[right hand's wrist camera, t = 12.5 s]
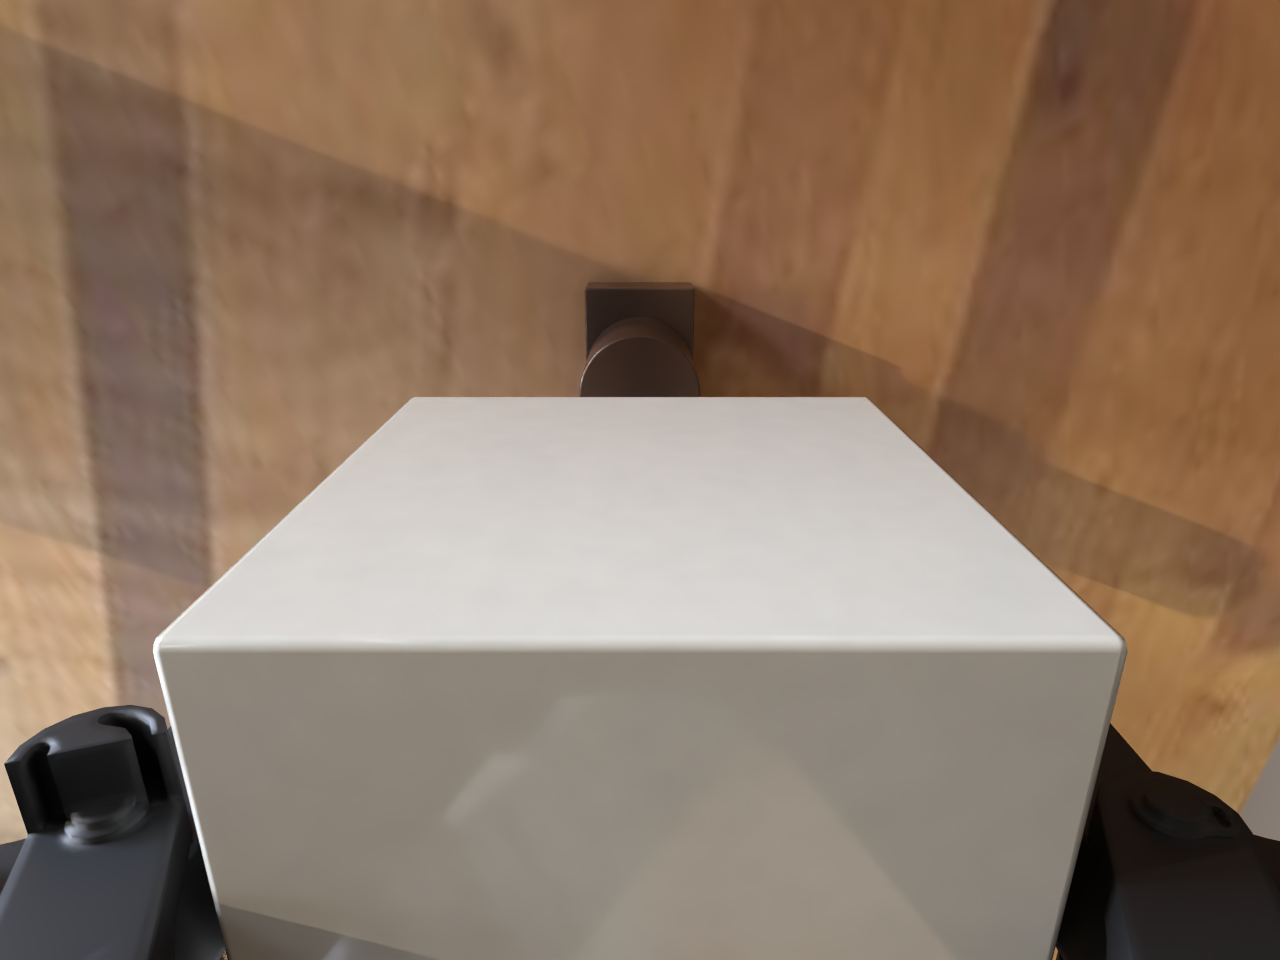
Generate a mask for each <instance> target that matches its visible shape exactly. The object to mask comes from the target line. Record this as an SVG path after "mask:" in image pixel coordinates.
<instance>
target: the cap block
mask: <svg viewBox="0 0 1280 960" xmlns="http://www.w3.org/2000/svg"><path fill="white" fill-rule="evenodd" d="M153 653H154V658H155V662H156V666H157V670H158V674H159V678H160V682H161V686H162V690H163V695H164V699H165V703H166V707H167V711H168V715H169V719H170V723H171V727H172V732H173V736H174V740H175V744H176V748H177V752H178V756H179V760H180V764H181V769H182V773H183V777H184V781H185V785H186V789H187V793H188V797H189V801H190V806H191V810H192V814H193V818H194V822H195V826H196V830H197V834H198V838H199V843H200V847H201V851H202V855H203V859H204V863H205V867H206V871H207V875H208V880H209V884H210V888H211V892H212V896H213V900H214V904H215V908H216V912H217V917H218V921H219V925H220V929H221V933H222V937H223V941H224V945H225V949H226V954H227V958H228V960H1052V958H1053V954H1054V950H1055V946H1056V942H1057V938H1058V934H1059V930H1060V926H1061V922H1062V918H1063V913H1064V909H1065V905H1066V901H1067V897H1068V893H1069V889H1070V885H1071V881H1072V877H1073V872H1074V868H1075V864H1076V860H1077V856H1078V852H1079V848H1080V844H1081V840H1082V836H1083V831H1084V827H1085V823H1086V819H1087V815H1088V811H1089V807H1090V803H1091V799H1092V795H1093V791H1094V786H1095V782H1096V778H1097V774H1098V770H1099V766H1100V762H1101V758H1102V754H1103V750H1104V745H1105V741H1106V737H1107V733H1108V729H1109V725H1110V721H1111V717H1112V713H1113V709H1114V705H1115V700H1116V696H1117V692H1118V688H1119V684H1120V680H1121V676H1122V672H1123V668H1124V664H1125V659H1126V655H1127V645H1126V642H1125V639H1124V637H1123V636H1121V635H1120V634H1119V633H1118V632H1117V631H1116V630H1115V629H1114V628H1113V627H1112V626H1111V625H1110V624H1109V623H1108V622H1107V621H1105V620H1104V619H1103V618H1102V617H1101V616H1100V615H1099V614H1098V613H1097V612H1096V611H1095V610H1094V609H1093V608H1092V607H1091V606H1090V605H1088V604H1087V603H1086V602H1085V601H1084V600H1083V599H1082V598H1081V597H1080V596H1079V595H1078V594H1077V593H1076V592H1075V591H1074V590H1072V589H1071V588H1070V587H1069V586H1068V585H1067V584H1066V583H1065V582H1064V581H1063V580H1062V579H1061V578H1060V577H1059V576H1058V575H1056V574H1055V573H1054V572H1053V571H1052V570H1051V569H1050V568H1049V567H1048V566H1047V565H1046V564H1045V563H1044V562H1043V561H1042V560H1040V559H1039V558H1038V557H1037V556H1036V555H1035V554H1034V553H1033V552H1032V551H1031V550H1030V549H1029V548H1028V547H1027V546H1026V545H1024V544H1023V543H1022V542H1021V541H1020V540H1019V539H1018V538H1017V537H1016V536H1015V535H1014V534H1013V533H1012V532H1011V531H1010V530H1008V529H1007V528H1006V527H1005V526H1004V525H1003V524H1002V523H1001V522H1000V521H999V520H998V519H997V518H996V517H995V516H994V515H992V514H991V513H990V512H989V511H988V510H987V509H986V508H985V507H984V506H983V505H982V504H981V503H980V502H979V501H978V500H976V499H975V498H974V497H973V496H972V495H971V494H970V493H969V492H968V491H967V490H966V489H965V488H964V487H963V486H962V485H960V484H959V483H958V482H957V481H956V480H955V479H954V478H953V477H952V476H951V475H950V474H949V473H948V472H947V471H946V470H944V469H943V468H942V467H941V466H940V465H939V464H938V463H937V462H936V461H935V460H934V459H933V458H932V457H931V456H930V455H928V454H927V453H926V452H925V451H924V450H923V449H922V448H921V447H920V446H919V445H918V444H917V443H916V442H915V441H914V440H912V439H911V438H910V437H909V436H908V435H907V434H906V433H905V432H904V431H903V430H902V429H901V428H900V427H899V426H898V425H896V424H895V423H894V422H893V421H892V420H891V419H890V418H889V417H888V416H887V415H886V414H885V413H884V412H883V411H882V410H880V409H879V408H878V407H877V406H876V405H875V404H874V403H873V402H872V401H871V400H870V399H868V398H866V397H414V398H412V399H410V400H409V401H408V402H407V403H406V404H405V405H404V406H403V407H402V408H400V409H399V410H398V411H397V412H396V413H395V414H394V415H393V416H392V417H391V418H390V419H389V420H388V421H387V422H386V423H385V424H383V425H382V426H381V427H380V428H379V429H378V430H377V431H376V432H375V433H374V434H373V435H372V436H371V437H370V438H369V439H367V440H366V441H365V442H364V443H363V444H362V445H361V446H360V447H359V448H358V449H357V450H356V451H355V452H354V453H353V454H352V455H350V456H349V457H348V458H347V459H346V460H345V461H344V462H343V463H342V464H341V465H340V466H339V467H338V468H337V469H336V470H335V471H333V472H332V473H331V474H330V475H329V476H328V477H327V478H326V479H325V480H324V481H323V482H322V483H321V484H320V485H319V486H317V487H316V488H315V489H314V490H313V491H312V492H311V493H310V494H309V495H308V496H307V497H306V498H305V499H304V500H303V501H302V502H300V503H299V504H298V505H297V506H296V507H295V508H294V509H293V510H292V511H291V512H290V513H289V514H288V515H287V516H286V517H284V518H283V519H282V520H281V521H280V522H279V523H278V524H277V525H276V526H275V527H274V528H273V529H272V530H271V531H270V532H269V533H267V534H266V535H265V536H264V537H263V538H262V539H261V540H260V541H259V542H258V543H257V544H256V545H255V546H254V547H253V548H252V549H250V550H249V551H248V552H247V553H246V554H245V555H244V556H243V557H242V558H241V559H240V560H239V561H238V562H237V563H236V564H234V565H233V566H232V567H231V568H230V569H229V570H228V571H227V572H226V573H225V574H224V575H223V576H222V577H221V578H220V579H219V580H217V581H216V582H215V583H214V584H213V585H212V586H211V587H210V588H209V589H208V590H207V591H206V592H205V593H204V594H203V595H202V596H200V597H199V598H198V599H197V600H196V601H195V602H194V603H193V604H192V605H191V606H190V607H189V608H188V609H187V610H186V611H184V612H183V613H182V614H181V615H180V616H179V617H178V618H177V619H176V620H175V621H174V622H173V623H172V624H171V625H170V626H169V627H167V628H166V629H165V630H164V631H163V632H162V633H161V634H160V635H159V636H158V637H157V638H156V640H155V643H154V648H153Z"/></svg>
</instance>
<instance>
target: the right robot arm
mask: <svg viewBox="0 0 1280 960" xmlns="http://www.w3.org/2000/svg"><path fill="white" fill-rule="evenodd" d="M4 765H5V768H6V771H7V774H8V777H9V780H10V783H11V785H12V788H13V791H14V794H15V797H16V800H17V803H18V806H19V809H20V812H21V815H22V818H23V821H24V824H25V827H26V830H27V833H28V835H27V837H26V839H22V840H19V841H15V842H11V843H6V844H2V845H0V960H224V957H223V953H224V951H225V945H224V941H223V937H222V933H221V929H220V925H219V921H218V917H217V912H216V908H215V904H214V900H213V896H212V892H211V888H210V884H209V880H208V875H207V871H206V867H205V863H204V859H203V855H202V851H201V847H200V843H199V838H198V834H197V830H196V826H195V822H194V818H193V814H192V810H191V806H190V801H189V797H188V793H187V789H186V785H185V781H184V777H183V773H182V769H181V764H180V760H179V756H178V752H177V748H176V744H175V740H174V736H173V732H172V727H170V728H169V729H168V730H167V726H166V722H165V718H164V717H163V716H161V715H160V714H159V713H157V712H156V711H155V710H153V709H152V708H146V707H140V706H134V705H126V706H115V707H104V708H100V709H96V710H93V711H89V712H86V713H82V714H78V715H75V716H72V717H70V718H68V719H65V720H63V721H61V722H59V723H56V724H54V725H52V726H50V727H48V728H45V729H43V730H42V731H41V732H39V733H38V734H36V735H35V736H33V737H32V738H30V739H29V740H27V741H26V742H25V743H23V744H22V745H20V746H19V747H18V748H17V750H16V751H15V752H14V753H13V754H12V755H11V757H10V758H9V759H8V760H7V761H6V762H5V764H4ZM1056 948H1057V949H1058V953H1057V957H1056V960H1280V841H1276V840H1272V839H1267V838H1264V837H1260V836H1257V835H1253V833H1252V832H1251V831H1250V829H1249V828H1248V826H1247V825H1246V824H1245V822H1244V821H1243V819H1242V818H1241V817H1240V815H1239V814H1238V813H1237V812H1236V811H1234V810H1233V809H1232V808H1231V807H1229V806H1228V805H1227V804H1225V803H1224V802H1223V801H1222V800H1220V799H1219V798H1218V797H1217V796H1215V795H1213V794H1212V793H1210V792H1208V791H1206V790H1204V789H1202V788H1200V787H1198V786H1196V785H1194V784H1192V783H1190V782H1188V781H1186V780H1182V779H1179V778H1176V777H1173V776H1169V775H1166V774H1163V773H1160V772H1153V771H1151V769H1150V768H1149V767H1148V766H1147V765H1146V764H1145V763H1144V761H1143V760H1142V759H1141V758H1140V757H1139V756H1138V755H1137V753H1136V752H1135V751H1134V750H1133V749H1132V748H1131V746H1130V745H1129V744H1128V743H1127V742H1126V741H1125V740H1124V738H1123V737H1122V736H1121V735H1120V734H1119V733H1118V732H1117V730H1116V729H1115V728H1114V727H1113V726H1112V725H1111V723H1110V725H1109V729H1108V733H1107V737H1106V741H1105V745H1104V750H1103V754H1102V758H1101V762H1100V766H1099V770H1098V774H1097V778H1096V782H1095V786H1094V791H1093V795H1092V799H1091V803H1090V807H1089V811H1088V815H1087V819H1086V823H1085V827H1084V831H1083V836H1082V840H1081V844H1080V848H1079V852H1078V856H1077V860H1076V864H1075V868H1074V872H1073V877H1072V881H1071V885H1070V889H1069V893H1068V897H1067V901H1066V905H1065V909H1064V913H1063V918H1062V922H1061V926H1060V930H1059V934H1058V938H1057V942H1056Z"/></svg>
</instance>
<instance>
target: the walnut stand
mask: <svg viewBox="0 0 1280 960" xmlns="http://www.w3.org/2000/svg"><path fill="white" fill-rule="evenodd" d="M585 317H586V361H587V362H586V365H585V368H584V371H583V375H582V378H581V382H580V388H579V397H700V386H699V380H698V377H697V374H696V370H695V367H694V364H693V334H694V288H693V286H692V284H691V283H588V285H587V287H586V289H585Z"/></svg>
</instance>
